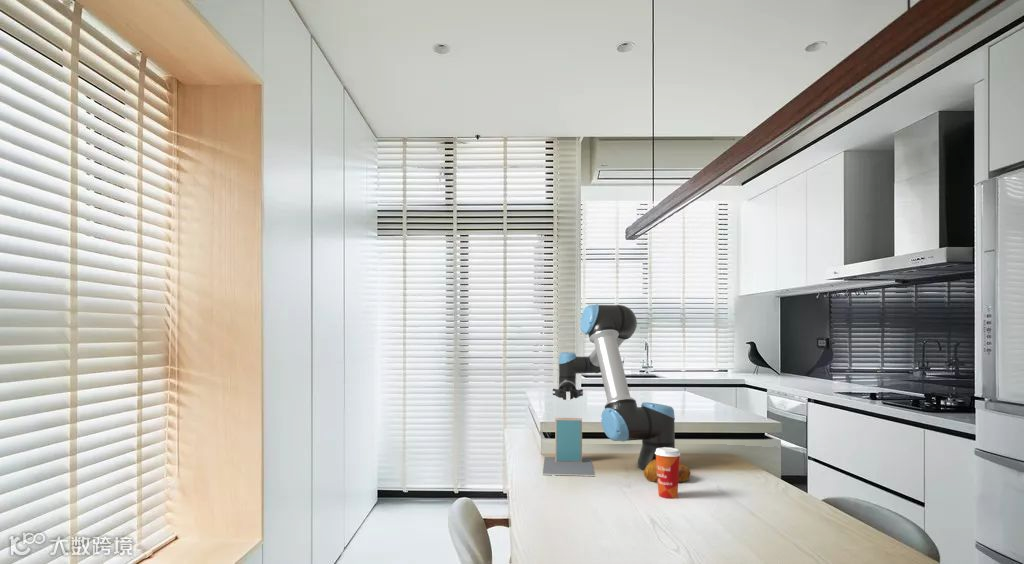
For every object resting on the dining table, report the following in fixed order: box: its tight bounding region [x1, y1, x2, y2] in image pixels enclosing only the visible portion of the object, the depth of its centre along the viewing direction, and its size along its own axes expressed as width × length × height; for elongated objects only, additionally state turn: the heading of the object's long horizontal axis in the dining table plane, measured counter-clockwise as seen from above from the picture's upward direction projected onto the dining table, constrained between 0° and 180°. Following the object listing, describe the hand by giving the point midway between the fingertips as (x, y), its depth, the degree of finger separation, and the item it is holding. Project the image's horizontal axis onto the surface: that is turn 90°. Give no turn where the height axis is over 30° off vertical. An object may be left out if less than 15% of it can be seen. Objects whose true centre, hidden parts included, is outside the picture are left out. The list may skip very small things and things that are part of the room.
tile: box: [554, 417, 583, 463], centre depth 223 cm, size 3×10×16 cm, turn 85°
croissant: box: [643, 459, 691, 483], centre depth 202 cm, size 14×16×8 cm
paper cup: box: [655, 447, 681, 500], centre depth 182 cm, size 8×8×14 cm
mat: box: [542, 456, 596, 478], centre depth 217 cm, size 26×18×1 cm
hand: (568, 397), depth 231 cm, fingers closed
